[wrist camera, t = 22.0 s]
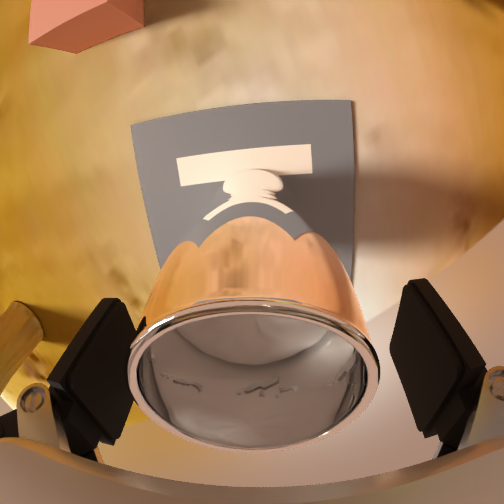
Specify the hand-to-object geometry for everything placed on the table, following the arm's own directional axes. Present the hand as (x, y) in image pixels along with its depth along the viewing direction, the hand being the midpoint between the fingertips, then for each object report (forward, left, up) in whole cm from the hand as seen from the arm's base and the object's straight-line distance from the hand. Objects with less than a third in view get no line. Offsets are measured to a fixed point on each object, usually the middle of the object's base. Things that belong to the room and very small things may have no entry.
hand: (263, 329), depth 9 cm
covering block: (+10, -18, -13) cm, 24 cm away
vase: (+30, +10, -13) cm, 34 cm away
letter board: (+1, 0, -13) cm, 13 cm away
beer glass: (0, 0, -12) cm, 12 cm away
